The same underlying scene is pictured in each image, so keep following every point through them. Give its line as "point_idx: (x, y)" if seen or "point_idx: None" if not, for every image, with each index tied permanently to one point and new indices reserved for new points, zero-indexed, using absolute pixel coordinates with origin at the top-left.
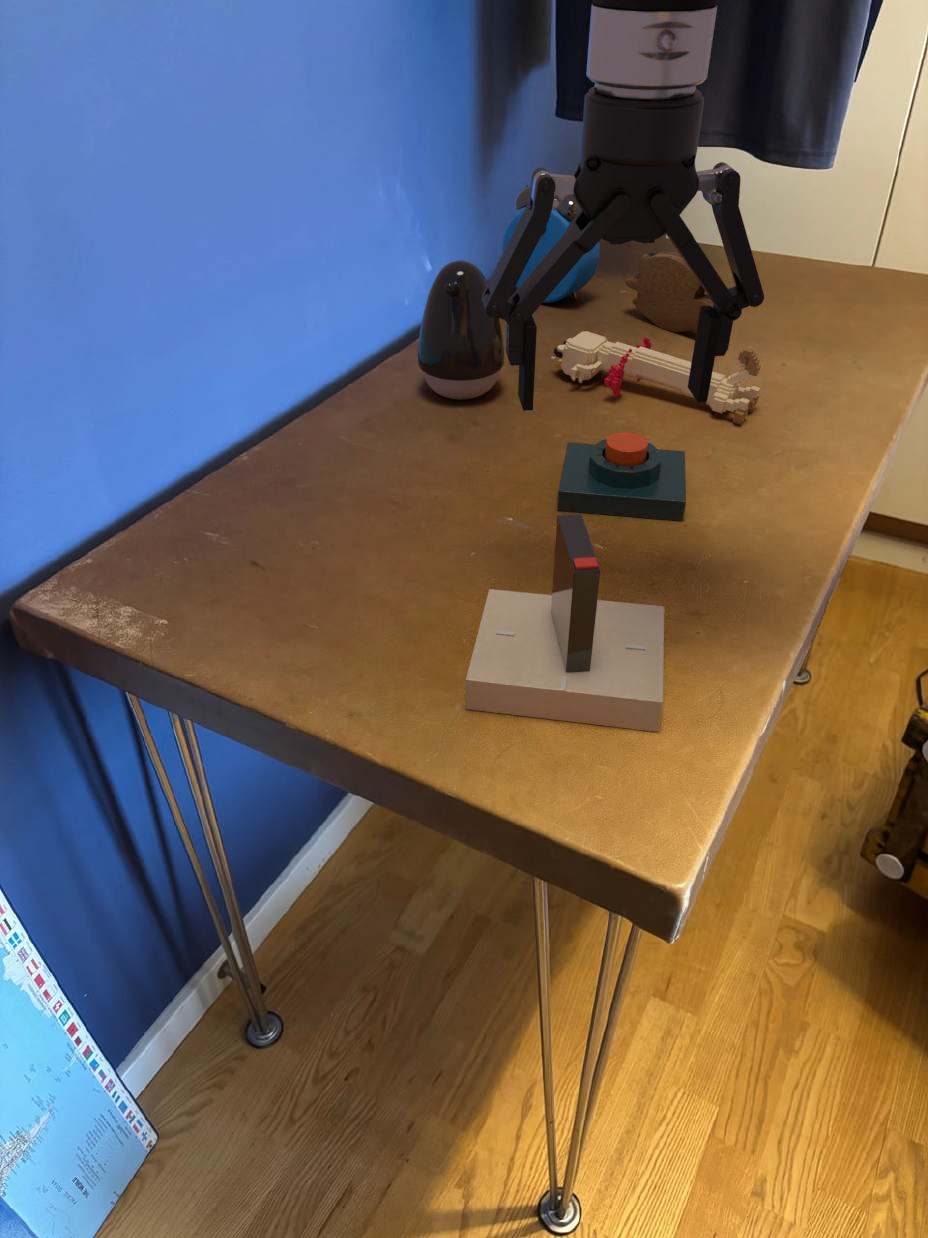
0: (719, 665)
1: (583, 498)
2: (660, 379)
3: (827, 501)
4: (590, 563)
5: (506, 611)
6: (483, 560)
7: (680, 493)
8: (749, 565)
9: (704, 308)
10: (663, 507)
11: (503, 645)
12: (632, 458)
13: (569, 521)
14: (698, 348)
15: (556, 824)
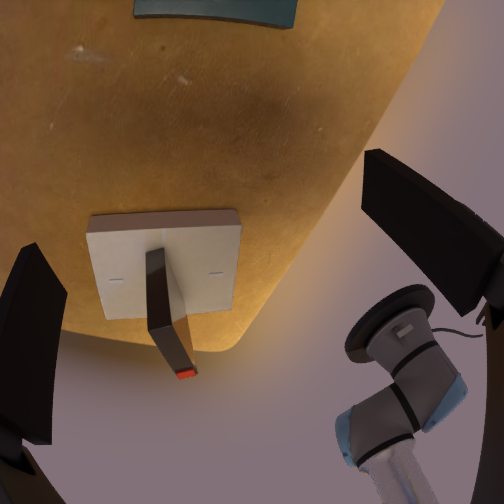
0: (274, 231)
1: (166, 15)
2: None
3: (413, 19)
4: (190, 375)
5: (108, 257)
6: (64, 133)
7: (289, 11)
8: (329, 105)
9: (489, 265)
10: (265, 24)
11: (118, 290)
12: None
13: (162, 336)
14: (421, 220)
15: None
